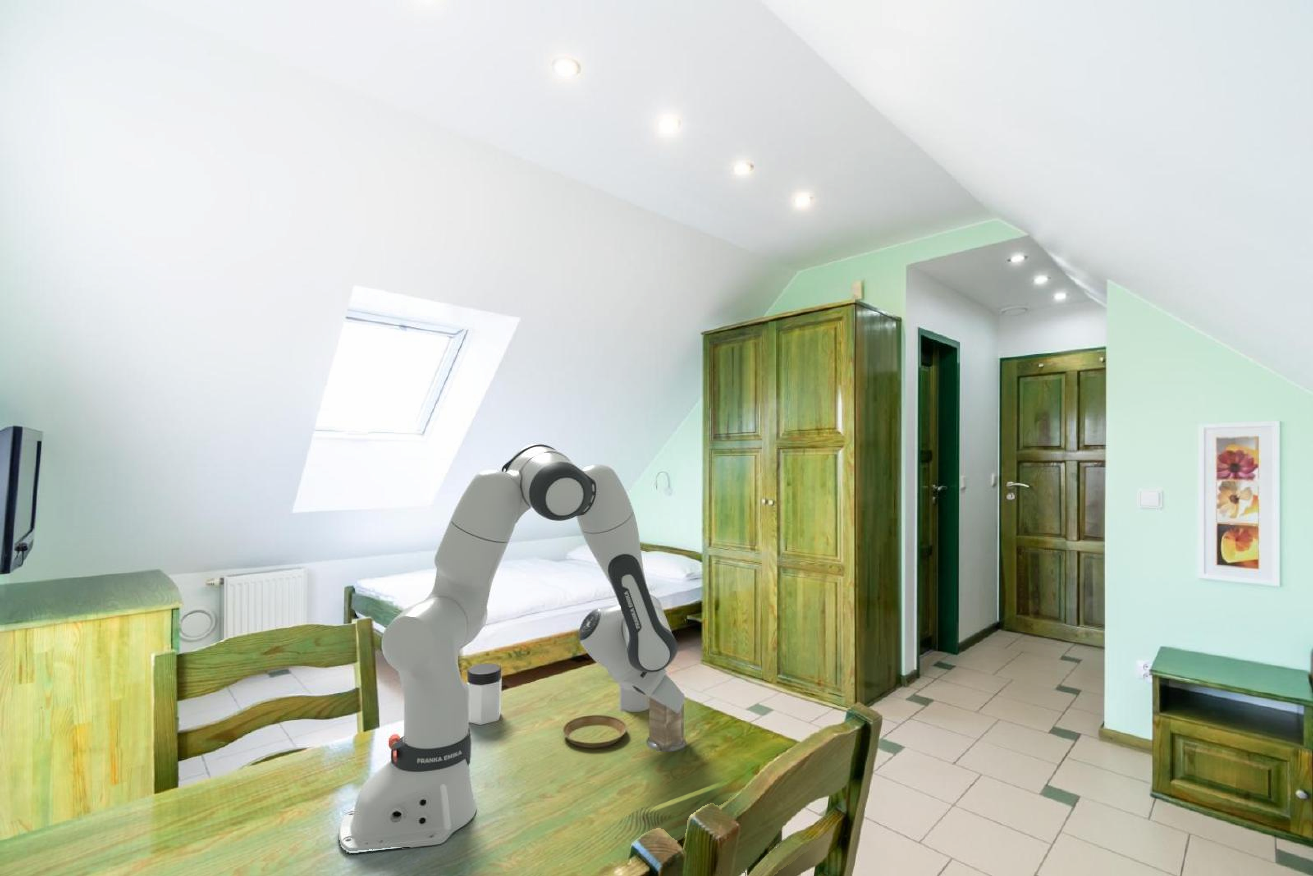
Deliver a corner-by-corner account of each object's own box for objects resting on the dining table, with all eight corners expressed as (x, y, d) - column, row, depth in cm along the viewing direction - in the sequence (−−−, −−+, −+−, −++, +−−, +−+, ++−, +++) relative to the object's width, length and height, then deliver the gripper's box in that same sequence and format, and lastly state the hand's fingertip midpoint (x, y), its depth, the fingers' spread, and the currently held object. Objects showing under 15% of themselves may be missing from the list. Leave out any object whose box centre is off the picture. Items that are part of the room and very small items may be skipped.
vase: (663, 749, 138) (663, 699, 138) (649, 740, 142) (649, 691, 143) (687, 742, 141) (687, 692, 142) (672, 733, 146) (673, 685, 146)
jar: (494, 708, 161) (495, 660, 161) (507, 718, 154) (508, 669, 155) (459, 716, 155) (460, 667, 156) (471, 728, 149) (472, 676, 149)
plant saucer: (624, 755, 137) (625, 743, 137) (557, 754, 137) (557, 742, 137) (628, 726, 152) (628, 715, 152) (567, 725, 152) (567, 714, 152)
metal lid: (661, 757, 135) (661, 741, 135) (638, 741, 143) (638, 726, 143) (694, 747, 140) (694, 731, 140) (670, 732, 148) (670, 717, 148)
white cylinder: (650, 714, 158) (650, 666, 158) (618, 713, 158) (618, 665, 158) (651, 702, 166) (651, 656, 166) (620, 701, 166) (621, 655, 167)
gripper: (600, 666, 144) (635, 700, 149) (649, 695, 127) (687, 732, 132) (617, 644, 147) (651, 678, 152) (667, 669, 130) (704, 707, 135)
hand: (668, 704), depth 142 cm, fingers closed on vase, 6 cm apart
